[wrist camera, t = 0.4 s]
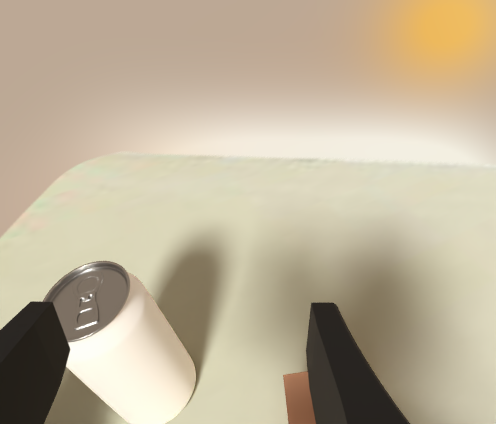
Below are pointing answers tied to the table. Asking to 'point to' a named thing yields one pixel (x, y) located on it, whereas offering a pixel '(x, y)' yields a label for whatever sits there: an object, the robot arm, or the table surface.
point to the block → (298, 399)
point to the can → (122, 343)
